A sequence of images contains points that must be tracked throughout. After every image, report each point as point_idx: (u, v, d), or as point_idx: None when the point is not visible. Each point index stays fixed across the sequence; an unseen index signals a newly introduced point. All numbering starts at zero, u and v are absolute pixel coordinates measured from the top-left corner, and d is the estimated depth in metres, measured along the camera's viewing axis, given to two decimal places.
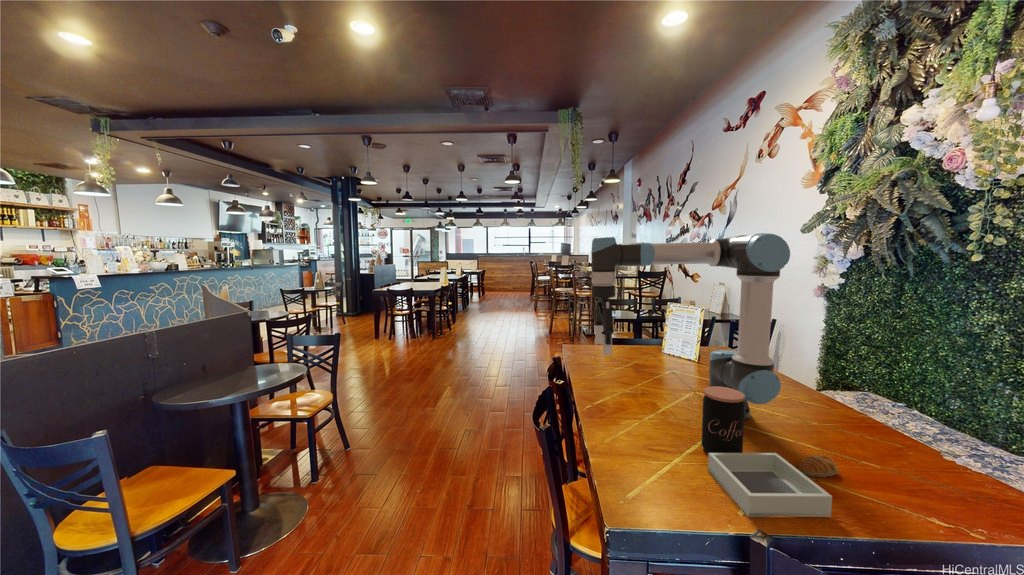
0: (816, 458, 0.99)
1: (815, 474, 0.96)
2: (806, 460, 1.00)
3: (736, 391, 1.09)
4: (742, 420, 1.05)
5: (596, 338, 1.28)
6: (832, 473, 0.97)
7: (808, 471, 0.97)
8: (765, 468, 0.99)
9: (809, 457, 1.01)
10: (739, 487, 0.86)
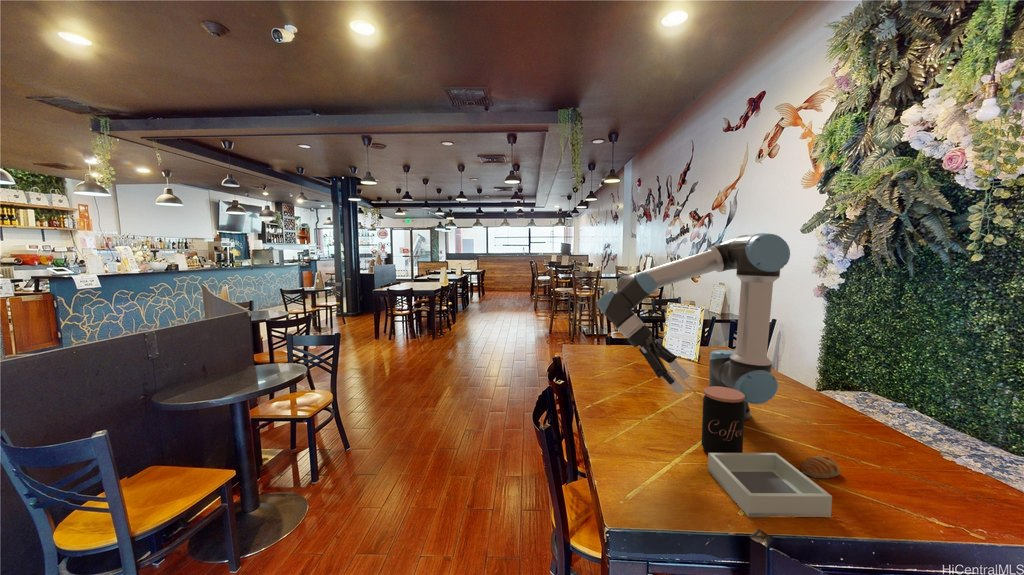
0: (818, 459, 0.99)
1: (818, 475, 0.96)
2: (808, 461, 1.00)
3: (736, 391, 1.09)
4: (742, 420, 1.05)
5: (679, 375, 1.20)
6: (835, 474, 0.97)
7: (811, 473, 0.96)
8: (765, 468, 0.99)
9: (811, 458, 1.00)
10: (739, 487, 0.86)
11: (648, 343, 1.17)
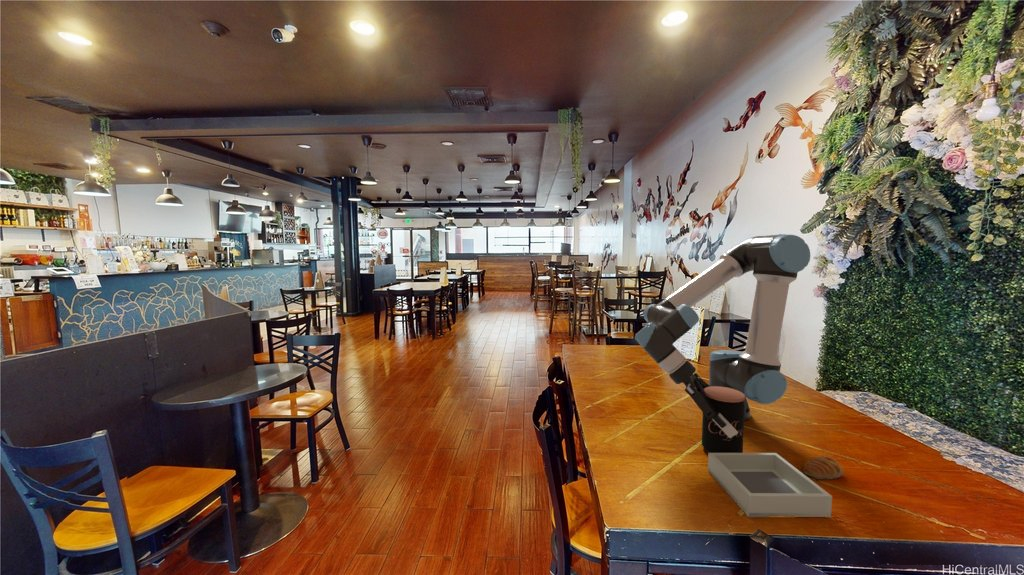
0: (821, 460, 0.99)
1: (821, 476, 0.95)
2: (811, 462, 0.99)
3: (736, 391, 1.09)
4: (742, 420, 1.05)
5: None
6: (837, 475, 0.96)
7: (814, 474, 0.96)
8: (765, 468, 0.99)
9: (814, 459, 1.00)
10: (739, 487, 0.86)
11: (692, 380, 1.11)
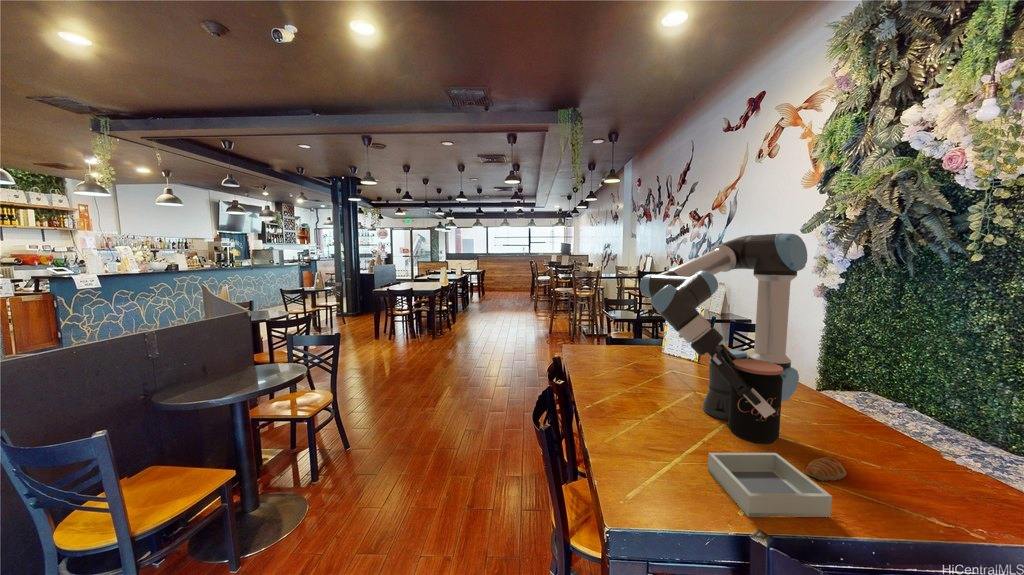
0: (824, 461, 0.98)
1: (825, 478, 0.95)
2: (814, 463, 0.98)
3: (772, 364, 0.91)
4: (780, 397, 0.87)
5: None
6: (841, 476, 0.96)
7: (818, 475, 0.95)
8: (765, 468, 0.99)
9: (817, 460, 0.99)
10: (739, 487, 0.86)
11: (718, 350, 0.93)
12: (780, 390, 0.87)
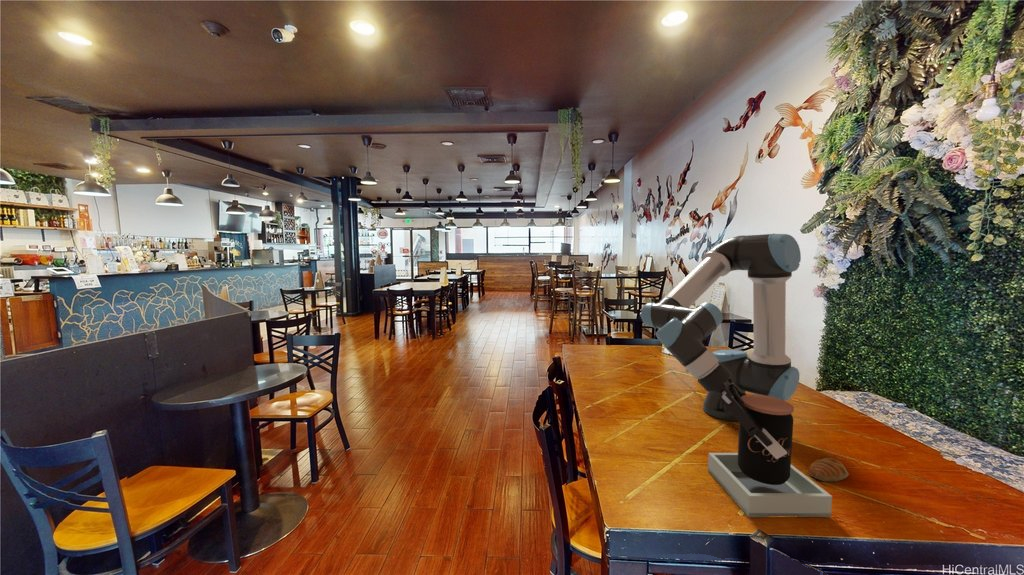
0: (826, 462, 0.98)
1: (827, 479, 0.94)
2: (817, 464, 0.98)
3: (782, 401, 0.90)
4: (791, 437, 0.86)
5: None
6: (843, 477, 0.95)
7: (821, 476, 0.95)
8: None
9: (819, 461, 0.99)
10: (739, 487, 0.86)
11: (727, 387, 0.91)
12: (791, 430, 0.85)
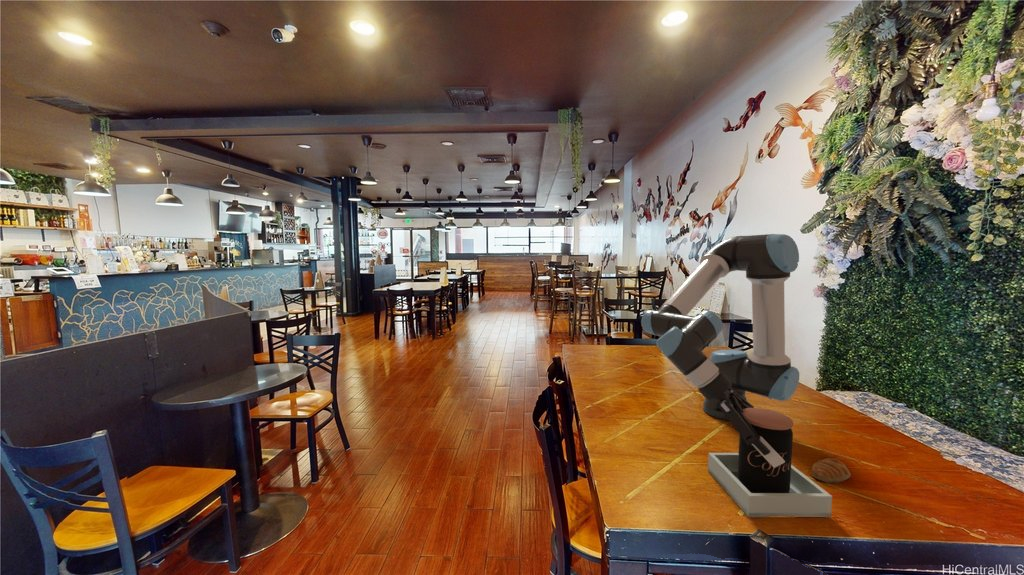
0: (828, 463, 0.97)
1: (830, 480, 0.94)
2: (819, 465, 0.98)
3: (781, 415, 0.90)
4: (790, 451, 0.86)
5: None
6: (845, 477, 0.95)
7: (823, 477, 0.94)
8: None
9: (821, 462, 0.99)
10: (739, 487, 0.86)
11: (728, 396, 0.92)
12: (790, 444, 0.86)
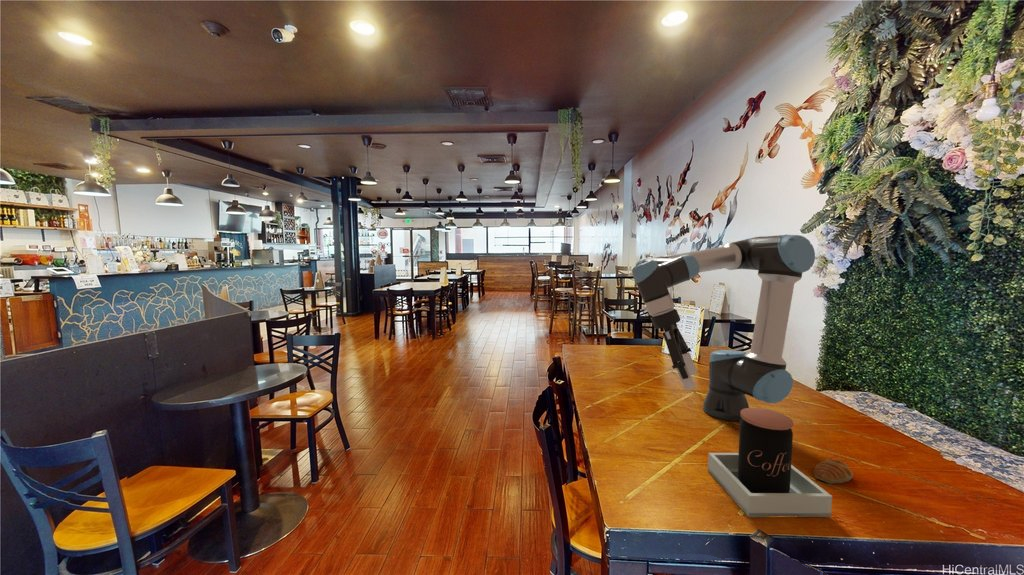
0: (831, 464, 0.97)
1: (834, 481, 0.93)
2: (822, 466, 0.97)
3: (781, 415, 0.90)
4: (790, 451, 0.86)
5: None
6: (848, 478, 0.95)
7: (827, 479, 0.94)
8: None
9: (823, 462, 0.98)
10: (739, 487, 0.86)
11: (673, 329, 1.06)
12: (790, 444, 0.86)
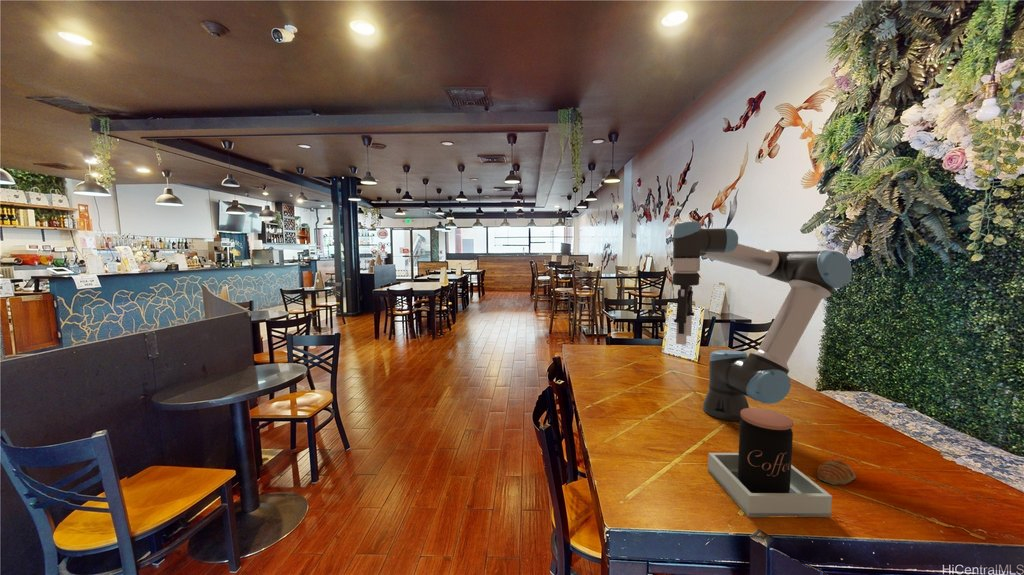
0: (833, 465, 0.96)
1: (837, 482, 0.93)
2: (824, 467, 0.97)
3: (781, 415, 0.90)
4: (790, 451, 0.86)
5: None
6: (851, 479, 0.94)
7: (830, 480, 0.93)
8: None
9: (826, 463, 0.98)
10: (739, 487, 0.86)
11: (688, 290, 1.13)
12: (790, 444, 0.86)
